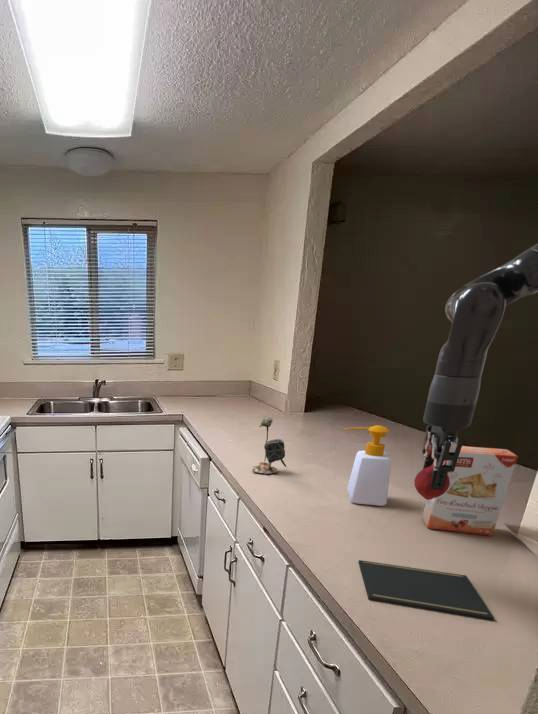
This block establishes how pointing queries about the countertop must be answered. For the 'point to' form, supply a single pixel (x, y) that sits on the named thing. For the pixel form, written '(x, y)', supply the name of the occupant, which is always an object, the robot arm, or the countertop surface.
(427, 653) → the countertop surface
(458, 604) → the placemat
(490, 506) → the cracker box
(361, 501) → the soap bottle
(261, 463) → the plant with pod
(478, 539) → the countertop surface
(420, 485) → the onion
